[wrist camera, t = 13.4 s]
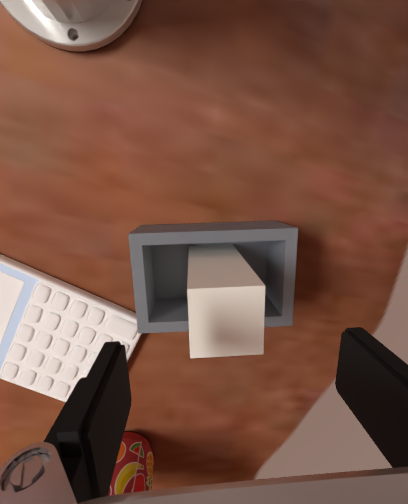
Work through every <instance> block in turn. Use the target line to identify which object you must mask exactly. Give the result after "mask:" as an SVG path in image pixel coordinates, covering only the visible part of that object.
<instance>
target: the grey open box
mask: <svg viewBox="0 0 408 504" xmlns="http://www.w3.org/2000/svg"><path fill="white" fill-rule="evenodd" d="M128 235H129V246H130V256H131V266H132V276H133V287H134V297H135V307H136V318H137V328H138V334H139V333H158V332H178V331H189V319H188V298H187V279H188V254H189V246H192V245H219V244H233V246H234V247H235V248H236V249H237V251H238V252H239V253H240V254H241V256H242V257H243V258H244V259H245V261H246V262H247V263H248V264H249V266H250V267H251V268H252V269H253V271H254V272H255V273H256V274H257V276H258V277H259V278H260V280H261V281H262V282H263V283H264V285H265V312H264V327H276V326H292V323H293V306H294V290H295V273H296V256H297V240H298V228H297V227H294V226H291V225H288V224H285V223H282V222H279V221H253V222H223V223H192V224H162V225H141V226H139V227H138V228H136V229H135V230H133V231H132V232H130V233H129V234H128Z"/></svg>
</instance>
